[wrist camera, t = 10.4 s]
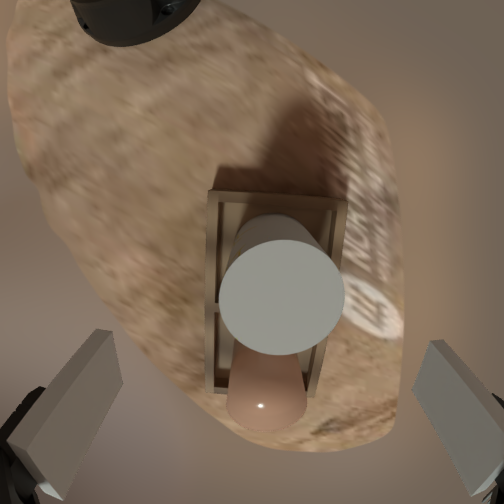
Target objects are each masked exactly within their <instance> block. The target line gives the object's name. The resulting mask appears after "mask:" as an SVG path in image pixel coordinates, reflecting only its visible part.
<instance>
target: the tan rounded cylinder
mask: <svg viewBox="0 0 504 504" xmlns="http://www.w3.org/2000/svg"><path fill="white" fill-rule="evenodd" d="M226 407H227V411H228V413H229V415H230V417H231V418H232V419H233V420H234V421H235V422H236V423H237V424H239V425H240V426H242V427H244V428H247V429H250V430H254V431H261V432H270V431H277V430H281V429H284V428H287V427H289V426H291V425H292V424H294V423H295V422H297V421H298V420H299V419H300V418H301V417H302V416H303V414H304V412H305V410H306V407H307V397H306V392H305V387H304V383H303V378H302V373H301V368H300V363H299V358H298V354H297V353H294V354H289V355H270V354H264V353H261V352H257V351H255V350H252V349H250V348H248V347H247V346H245V345H243V344H242V343H241V342H239V341H238V340H237V339H236V338H235V340H234V345H233V353H232V361H231V369H230V378H229V386H228V394H227V403H226Z"/></svg>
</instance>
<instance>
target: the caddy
mask: <svg viewBox="0 0 504 504" xmlns="http://www.w3.org/2000/svg"><path fill="white" fill-rule="evenodd" d="M347 208H348V201H346V200H343V199H338V198H328V197H318V196H308V195H296V194H284V193H272V192H258V191H242V190H225V189H210V190H208V202H207V227H206V259H205V392H206V393H217V394H228V386H229V378H230V369H231V361H232V353H233V345H234V340H235V337H234V336H233V335H232V334H231V333H230V331H229V330H228V329H227V327H226V325H225V323H224V321H223V319H222V316H221V313H220V308H219V292H220V287H221V283H222V280H223V276H224V273H225V270H226V266H227V263H228V260H229V256H230V253H231V250H232V246H233V243H234V240H235V237H236V235H237V233H238V232H239V230H240V229H241V227H242V226H243V225H244V224H245V223H246V222H248V221H249V220H250V219H252V218H254V217H256V216H258V215H261V214H265V213H282V214H286V215H289V216H291V217H293V218H295V219H296V220H298V221H299V222H300V223H301V224H302V225H303V226H304V227H305V228H306V229H307V231H308V232H309V233H310V234H311V236H312V237H313V238H314V239H315V240H316V242H317V243H318V244H319V245H320V247H321V248H322V249H323V250H324V251H325V253H326V254H327V255H328V256H329V258H330V259H331V260H332V261H333V263H334V264H335V265H336V267H337V269H338V270H339V269H340V263H341V256H342V249H343V241H344V233H345V225H346V217H347ZM327 338H328V335H327V336H326V337H325V338H324V339H323V340H322V341H320V342H319V343H318V344H316V345H314V346H313V347H311V348H309V349H307V350H304V351H301V352H298V353H297V354H298V358H299V363H300V368H301V373H302V378H303V383H304V387H305V392H306V397H314V396H315V392H316V388H317V384H318V380H319V375H320V371H321V366H322V362H323V357H324V353H325V348H326V343H327Z"/></svg>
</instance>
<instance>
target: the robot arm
mask: <svg viewBox="0 0 504 504" xmlns="http://www.w3.org/2000/svg"><path fill="white" fill-rule="evenodd" d="M70 2H71V4H72V7H73V9H74V12H75V15H76V17H77V19H78V22H79V24H80V26H81V28H82V29H83V30H84V31H85V32H86V33H87V34H88V35H89V36H91V37H92V38H93V39H95V40H96V41H98V42H100V43H102V44H105V45H108V46H114V47H126V46H133V45H138V44H142V43H145V42H148V41H151V40H153V39H155V38H158V37H160V36H162V35H164V34H165V33H167V32H169V31H170V30H172V29H173V28H175V27H176V26H178V25H179V24H180V23H181V22H183V21H184V20H185V19H186V18H187V17H188V16H189V15H190V14H191V13H192V11H193V10H194V9H195V8H196V6H197V5H198V3H199V2H200V0H70ZM122 385H123V381H122V377H121V373H120V368H119V363H118V358H117V354H116V349H115V343H114V338H113V333H112V331H107V330H101V329H96V330H95V331H94V332H93V333H92V334H91V335H90V337H89V338H88V339H87V340H86V341H85V342H84V344H83V345H82V346H81V347H80V348H79V349H78V350H77V352H76V353H75V354H74V355H73V356H72V358H71V359H70V360H69V361H68V362H67V364H66V365H65V366H64V367H63V368H62V370H61V371H60V372H59V373H58V374H57V376H56V377H55V378H54V379H53V381H52V382H51V383H50V384H49V386H48V387H47V388H44V387H41V386H39V387H38V388H36V389H35V390H33V391H31V392H30V393H29V394H28V395H27V396H26V397H25V398H24V400H23V401H22V404H19V406H18V407H17V408H16V411H14V412H13V413H12V414H11V416H10V417H9V418H8V419H7V421H6V422H5V423H4V425H3V426H2V427H1V429H0V504H40V502H39V499H38V496H37V494H36V492H35V490H34V488H35V487H36V485H37V484H38V485H39V486H40V488H41V489H42V490H43V491H44V492H45V493H47V494H49V495H51V496H54V497H56V498H58V499H60V500H63V501H64V499H65V496H66V494H67V492H68V490H69V488H70V486H71V484H72V482H73V480H74V477H75V475H76V473H77V471H78V469H79V467H80V465H81V463H82V461H83V459H84V457H85V455H86V453H87V451H88V449H89V447H90V445H91V443H92V441H93V439H94V437H95V435H96V434H97V431H98V430H99V428H100V426H101V424H102V422H103V420H104V418H105V416H106V414H107V413H108V411H109V409H110V407H111V405H112V403H113V401H114V399H115V398H116V396H117V394H118V392H119V390H120V388H121V387H122ZM412 391H413V393H414V395H415V396H416V398H417V400H418V401H419V403H420V405H421V407H422V408H423V410H424V412H425V413H426V415H427V417H428V419H429V420H430V422H431V424H432V425H433V427H434V429H435V430H436V432H437V434H438V436H439V438H440V440H441V441H442V443H443V445H444V447H445V449H446V450H447V452H448V454H449V456H450V458H451V460H452V461H453V463H454V465H455V467H456V469H457V471H458V473H459V475H460V477H461V478H462V481H463V482H464V484H465V486H466V488H467V490H468V492H469V494H470V496H473V495H475V494H477V493H480V492H482V491H484V490H485V489H487V488H488V486H489V485H490V484H491V483H492V482H493V481H494V480H495V481H496V483H497V485H496V486H495V487H494V488H493V489H492V490H491V491H490V492H489V493H488V494H487V495H486V496H485V497H484V499H483V501H482V503H484V502H485V501H486V500H487V499H488V498H489V497H490V496H491V499H490V500H489V501H488V503H487V504H504V401H503V400H502V399H501V398H499V397H498V396H496V395H495V394H493V393H492V394H491V393H490V392H489V391H488V389H487V388H486V387H485V386H484V385H483V384H482V382H481V381H480V380H479V379H478V378H477V377H476V375H475V374H474V373H473V372H472V371H471V370H470V369H469V368H468V366H467V365H466V364H465V363H464V362H463V361H462V360H461V359H460V357H459V356H458V355H457V354H456V353H455V352H454V351H453V350H452V349H451V347H450V346H448V344H447V343H446V342H445V341H444V340H434V341H430V342H429V345H428V348H427V350H426V353H425V356H424V359H423V362H422V365H421V367H420V370H419V373H418V375H417V378H416V380H415V383H414V385H413V388H412Z"/></svg>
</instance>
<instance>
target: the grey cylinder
mask: <svg viewBox="0 0 504 504" xmlns="http://www.w3.org/2000/svg"><path fill="white" fill-rule="evenodd" d="M344 299H345V291H344V284H343V280H342V277H341V275H340V272H339V270H338V269H337V267H336V265H335V264H334V263H333V261H332V260H331V259H330V258H329V256H328V255H327V254H326V253H325V251H324V250H323V249H322V248H321V247H320V245H319V244H318V243H317V242H316V240H315V239H314V238H313V237H312V236H311V234H310V233H309V232H308V231H307V229H306V228H305V227H304V226H303V225H302V224H301V223H300V222H299V221H298V220H296V219H295V218H293V217H291V216H289V215H286V214H282V213H265V214H261V215H258V216H256V217H254V218H252V219H250V220H249V221H248V222H246V223H245V224H244V225H243V226H242V227H241V229H240V230H239V232H238V233H237V235H236V237H235V240H234V243H233V246H232V250H231V253H230V256H229V260H228V263H227V266H226V270H225V273H224V276H223V280H222V283H221V287H220V292H219V308H220V313H221V316H222V319H223V321H224V323H225V325H226V327H227V329H228V330H229V331H230V333H231V334H232V335H233V336H234V337H235V338H236V339H237V340H238V341H239V342H241V343H242V344H243V345H245V346H247V347H248V348H250V349H252V350H255V351H257V352H261V353H264V354H270V355H289V354H294V353H298V352H301V351H304V350H307V349H309V348H311V347H313V346H314V345H316V344H318V343H319V342H320V341H322V340H323V339H324V338H325V337H326V336H327V335H328V334H329V333H330V332H331V331H332V330H333V328H334V327H335V325H336V324H337V322H338V320H339V318H340V316H341V313H342V310H343V306H344Z"/></svg>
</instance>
